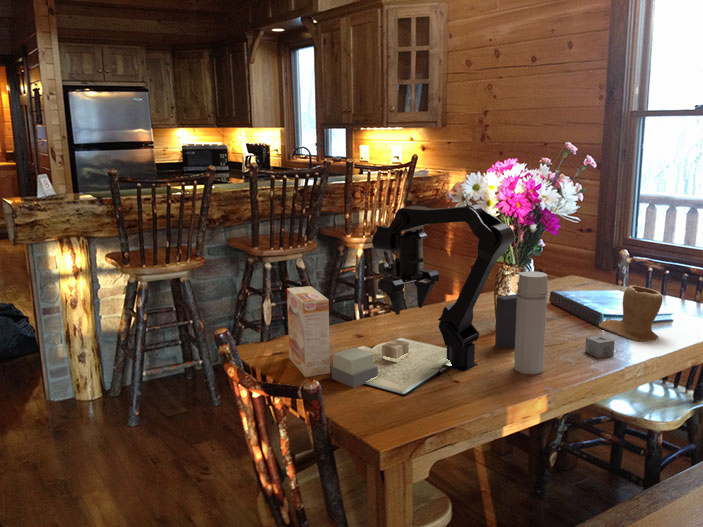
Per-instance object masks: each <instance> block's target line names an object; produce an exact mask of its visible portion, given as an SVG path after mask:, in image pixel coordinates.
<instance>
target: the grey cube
mask: <svg viewBox="0 0 703 527" xmlns="http://www.w3.org/2000/svg"><path fill="white" fill-rule="evenodd" d="M584 346H585V349H584V352H585V353H587V354H589V355H591V356H593V357H595V358H597V359H600V358H605V357H610V356H614V354H615V353H614V352H615V340H614V339H612V338H609V337H607V336H605V335H602V334H600V335H591V336H586V337H585V345H584Z"/></svg>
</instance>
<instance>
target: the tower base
mask: <svg viewBox="0 0 703 527" xmlns="http://www.w3.org/2000/svg"><path fill="white" fill-rule="evenodd" d="M378 368H379V367H378V366H376V365H374V364H373V368H371V369H368V370H365V371H362V372H359V373H356V374H353V375H351V374H349V373H346V372H344V371H342V370H339V369H337V368H335V367H333V365H332V366H331V379H332V380H334V381H336V382H339V383H340V384H343V385H346V386H348V387H350V388H354V389H355V388H357V387H359V386H362V385H365V384H366V383H365V382H366V381H368V380H370V379H371V378H374V377H376V376H379V374H378V373H379V372H378V370H379V369H378Z"/></svg>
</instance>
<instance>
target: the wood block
mask: <svg viewBox="0 0 703 527" xmlns="http://www.w3.org/2000/svg"><path fill="white" fill-rule="evenodd" d="M409 346H410V345H409V341H405V340H401V339H396V338H394V339H392V340H390V341H388V342H386V343H383V344H382V345H381V357H382V356H386V357H390V358H395V359H397V358H399V357H400V356H402V355H404V354H406V353H408V354H409Z"/></svg>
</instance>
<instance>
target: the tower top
mask: <svg viewBox="0 0 703 527" xmlns="http://www.w3.org/2000/svg"><path fill="white" fill-rule="evenodd" d="M373 365H374V353H372V352H368V351H367V350H363V349H361V348H358V347H356V346H354V347H350V348H347V349H343V350H340V351H336V352H333V353H332V366H333V367H335V368H337V369H339V370H342V371H344V372H346V373H349V374H351V375H353V374H356V373H359V372H362V371H365V370H368V369H371V368H373Z"/></svg>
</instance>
